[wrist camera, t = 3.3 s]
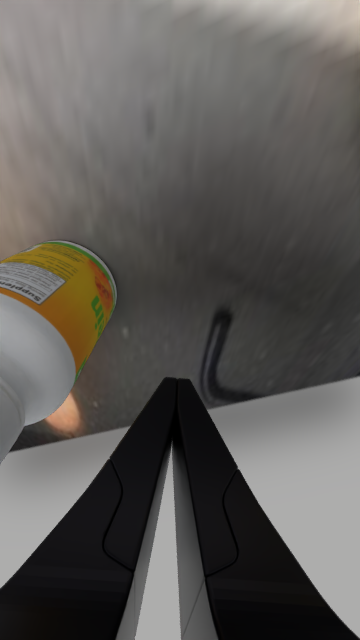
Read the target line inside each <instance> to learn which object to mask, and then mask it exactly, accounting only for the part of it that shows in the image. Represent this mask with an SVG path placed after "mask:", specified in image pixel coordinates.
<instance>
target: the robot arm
mask: <svg viewBox="0 0 360 640" xmlns="http://www.w3.org/2000/svg"><path fill="white" fill-rule="evenodd" d="M171 446H172V460H173V481H174V500H175V522H176V543H177V563H178V584H179V604H180V626H181V640H360V638H359V637H358V636H357V635H356V634H355V633H353V632H352V631H351V630H350V629H349V628H348V627H347V625H345V624H344V622H343V621H342V620H341V619H340V618H339V617H338V616H337V615H336V613H335V612H334V611H333V610H332V609H331V608H330V606H329V605H328V604H327V602H326V601H325V600H324V599H323V597H322V596H321V595H320V593H319V592H318V590H317V589H316V588H315V586H314V585H313V583H312V582H311V580H310V579H309V578H308V576H307V575H306V573H305V572H304V570H303V569H302V567H301V566H300V564H299V563H298V561H297V560H296V558H295V557H294V555H293V554H292V552H291V551H290V550H289V548H288V547H287V545H286V544H285V542H284V541H283V539H282V538H281V536H280V535H279V533H278V532H277V530H276V529H275V528H274V526H273V525H272V523H271V521H270V520H269V518H268V517H267V515H266V514H265V512H264V511H263V509H262V508H261V506H260V505H259V503H258V501H257V500H256V498H255V496H254V495H253V493H252V491H251V489H250V488H249V486H248V484H247V483H246V481H245V479H244V477H243V475H242V473H241V472H240V470H239V469H238V466H237V464H236V463H235V461H234V459H233V457H232V455H231V454H230V452H229V450H228V448H227V446H226V445H225V443H224V441H223V439H222V437H221V435H220V434H219V432H218V430H217V428H216V426H215V424H214V422H213V421H212V419H211V417H210V415H209V413H208V411H207V410H206V408H205V406H204V404H203V402H202V400H201V399H200V397H199V395H198V393H197V391H196V390H195V388H194V386H193V384H192V382H191V381H190V380H189V379H184V378H179V379H178V380H177V379H176V378H172V377H165V378H164V379H163V381H162V382H161V383H160V385H159V386H158V388H157V389H156V391H155V392H154V394H153V395H152V396H151V398H150V399H149V401H148V402H147V404H146V405H145V407H144V408H143V410H142V411H141V412H140V414H139V415H138V417H137V418H136V420H135V421H134V423H133V424H132V425H131V427H130V428H129V430H128V431H127V433H126V434H125V436H124V437H123V439H122V440H121V441H120V443H119V444H118V446H117V447H116V449H115V451H114V452H113V453H112V455H111V456H110V459H108V460H107V462H106V463H105V464H104V466H103V467H102V469H101V470H100V472H99V473H98V474H97V476H96V477H95V479H94V480H93V481H92V483H91V484H90V485H89V487H88V488H87V489H86V491H85V492H84V493H83V494H82V496H81V497H80V498H79V499H78V500H77V502H76V503H75V504H74V505H73V507H72V508H71V509H70V510H69V511H68V513H67V514H66V515H65V516H64V517H63V518H62V520H61V521H60V522H59V523H58V524H57V525H56V527H55V528H54V529H53V530H52V531H51V532H50V534H49V535H48V536H47V537H46V538H45V539H44V541H43V542H42V543H41V544H40V545H39V546H38V548H37V549H36V550H35V551H34V552H33V553H32V555H31V556H30V557H29V558H28V559H27V560H26V562H25V563H24V564H23V565H22V566H21V567H20V569H19V570H18V571H17V572H16V573H15V574H14V575H13V576H12V577H11V578H10V579H9V580H8V581H7V583H5V585H4V586H2V587H1V588H0V640H135V635H136V630H137V625H138V619H139V615H140V609H141V604H142V599H143V593H144V588H145V583H146V577H147V572H148V567H149V562H150V557H151V551H152V547H153V541H154V536H155V530H156V526H157V520H158V515H159V510H160V505H161V499H162V494H163V489H164V483H165V478H166V473H167V468H168V463H169V458H170V452H171Z"/></svg>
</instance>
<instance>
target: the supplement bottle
mask: <svg viewBox="0 0 360 640" xmlns="http://www.w3.org/2000/svg"><path fill="white" fill-rule="evenodd" d="M116 300H117V291H116V285H115V282H114V279H113V276H112V274H111V272H110V271H109V269H108V268H107V266H106V265H105V264H104V262H103V261H102V260H101V259H100V258H99V257H98V256H96V255H95V254H94V253H93V252H91V251H90V250H88V249H86V248H84V247H82V246H80V245H78V244H75V243H72V242H67V241H47V242H43V243H40V244H37V245H35V246H32V247H30V248H28V249H26V250H24V251H22V252H19V253H17V254H15V255H13V256H11V257H9V258H7V259H5V260H3V261H1V262H0V464H1V462H2V461H3V459H4V458H5V456H6V455H7V454H8V452H9V451H10V449H11V447H12V446H13V444H14V443H15V441H16V440H17V438H18V436H19V434H20V433H21V431H22V429H23V427H24V426H26V425H30V424H33V423H36V422H38V421H40V420H43V419H45V418H46V417H48V416H49V415H51V414H52V413H53V412H55V411H56V410H57V409H58V408H59V407H60V406H61V405H62V403H63V402H64V401H65V399H66V398H67V396H68V394H69V393H70V391H71V389H72V387H73V386H74V384H75V382H76V380H77V378H78V376H79V374H80V372H81V370H82V369H83V367H84V365H85V363H86V361H87V359H88V358H89V356H90V354H91V352H92V350H93V348H94V346H95V344H96V343H97V341H98V339H99V337H100V335H101V334H102V332H103V330H104V328H105V326H106V324H107V323H108V321H109V319H110V317H111V315H112V313H113V311H114V308H115V305H116Z"/></svg>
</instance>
